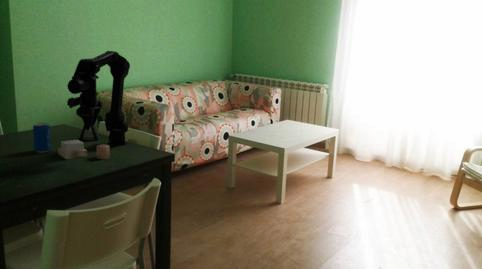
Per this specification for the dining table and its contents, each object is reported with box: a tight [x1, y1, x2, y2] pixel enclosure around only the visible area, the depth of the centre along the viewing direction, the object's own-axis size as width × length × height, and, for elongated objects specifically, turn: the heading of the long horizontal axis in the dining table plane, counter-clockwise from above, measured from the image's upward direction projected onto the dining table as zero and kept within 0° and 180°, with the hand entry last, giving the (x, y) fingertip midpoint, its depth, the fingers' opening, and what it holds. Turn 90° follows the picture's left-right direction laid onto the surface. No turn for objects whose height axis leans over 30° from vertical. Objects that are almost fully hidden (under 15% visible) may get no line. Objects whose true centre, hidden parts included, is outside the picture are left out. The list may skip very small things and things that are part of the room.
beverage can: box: [32, 122, 52, 154], centre depth 190 cm, size 6×6×12 cm
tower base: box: [57, 147, 88, 160], centre depth 188 cm, size 9×9×3 cm
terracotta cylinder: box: [96, 144, 111, 160], centre depth 187 cm, size 5×5×5 cm
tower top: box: [60, 138, 85, 152], centre depth 188 cm, size 7×7×3 cm
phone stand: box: [78, 124, 100, 142], centre depth 213 cm, size 9×6×12 cm, turn 103°
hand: (90, 127), depth 185 cm, fingers open, 9 cm apart
